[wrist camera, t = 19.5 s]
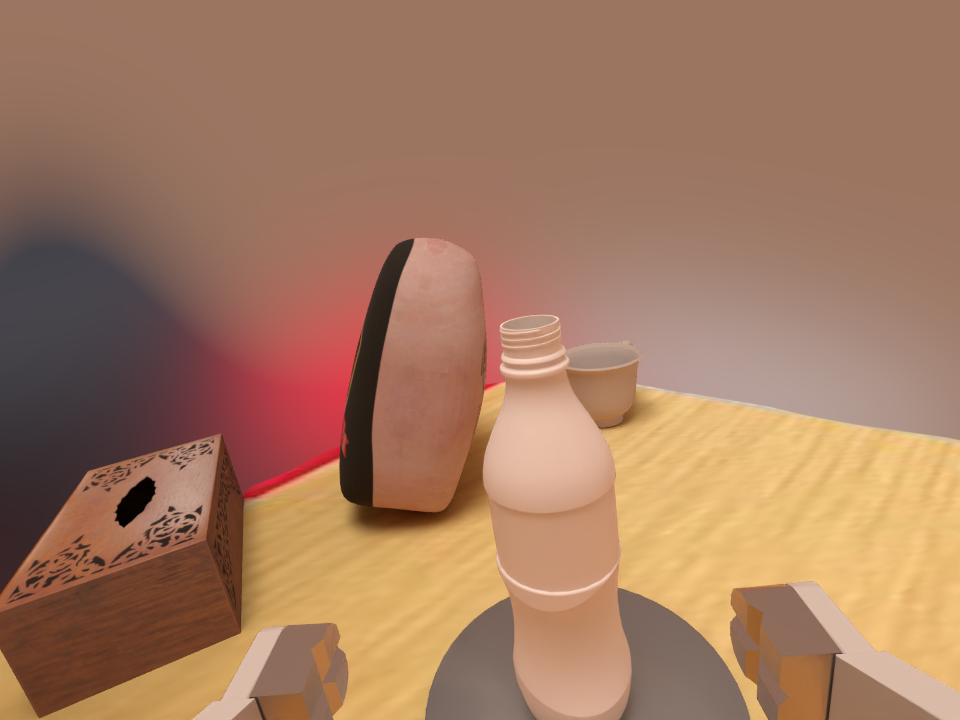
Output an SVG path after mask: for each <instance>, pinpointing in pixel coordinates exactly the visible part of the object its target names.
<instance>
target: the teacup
mask: <svg viewBox="0 0 960 720" xmlns="http://www.w3.org/2000/svg"><path fill="white" fill-rule="evenodd" d="M564 354H565V355H566V356H568V358H569V361H570V365H569V367H568V368H567V369H566V372H567V377H568V380H569V383H570V386H571V388H572V390H573V392H574V394H575V395H576V397H577V398H578V400H579V401H580V402H581V404H582V405H583V407H584V408H585V409H586V411H587V412H588V413H589V415H590V416H591V417H592V419H593V420H594V422H595V423H596V425H597V426H598V427H599V428H604V427H612V426H615V425H618V424H620V423H621V422H622V421H623V420H624V416H623V414H624V413H625V412H627V411H628V410H629V409H630V408H631V406H632V405H633V402H634V399H635V392H636V378H637V366H638V362H639V360H640V359H641V358H642V356H643V352H642V351H641V350H640V349H639V348H637V347H635V346H634V345H633V344H632V342H630V341H622V342H621V343H594V344H587V345H582V346H577V347H574V348H571V349H568V350H566V352H565V353H564Z"/></svg>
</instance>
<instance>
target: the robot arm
mask: <svg viewBox="0 0 960 720" xmlns="http://www.w3.org/2000/svg"><path fill="white" fill-rule="evenodd" d="M731 606H732V607H733V609H734V611H735V613H736V614H737V615H736V616H735V617H734V618H733V620H732V621H731V622H730V636H731V641H732V645H733V650H734V653H735V656H736V658H737V661H738V663H739V665H740V667H741V669H742V671H743V673H744V675H745V676H746V677H747V678H749V679H750V680H751V681H753V682H754V683H755V684H757V700H758V701H759V703H760V705H761V707H762V709H763V711H764V713H765V714H766V716H767V718H768V720H960V692H958V691H956V690H954V689H953V688H951V687H949V686H947V685H945V684H944V683H942V682H940V681H938V680H936V679H935V678H933V677H931V676H929V675H927V674H925V673H924V672H922V671H920V670H918V669H916V668H915V667H913V666H911V665H909V664H907V663H906V662H904V661H902V660H900V659H898V658H897V657H895V656H893V655H891V654H889V653H888V652H886V651H875V649H874V648H873V647H872V646H871V645H870V644H869V642H868V641H867V640H866V639H865V638H864V637H863V636H862V634H861V633H860V632H859V631H858V630H857V629H856V627H855V626H854V625H853V624H852V623H851V622H850V620H849V619H848V618H847V617H846V616H845V615H844V613H843V612H842V611H841V610H840V609H839V608H838V607H837V605H836V604H835V603H834V602H833V601H832V600H831V598H830V597H829V596H828V595H827V594H826V593H825V591H824V590H823V589H822V588H821V587H820V586H819V585H818V584H817V583H815V582H813V581H808V582H797V583H787V584H777V585H767V586H756V587H746V588H735V589H733V591H732V594H731ZM339 639H340V634H339V631H338V628H337V625H336V624H333V623H323V624H305V625H288V626H280V627H264V628H263V629H262V630H261V631H260V632H259V633H258V634H257V636H256V637H255V639H254V641H253V643H252V645H251V647H250V648H249V650H248V652H247V654H246V656H245V657H244V659H243V661H242V663H241V665H240V666H239V668H238V670H237V672H236V674H235V676H234V677H233V679H232V681H231V683H230V685H229V686H228V688H227V690H226V692H225V694H224V695H223V697H222V699H221V701H213V702H212V703H211V704H210V705H209V706H207V707H206V708H205V709H204V710H203V711H201V712H200V713H199V714H198V715H197V716H195V717H194V718H193V719H192V720H333V717H332V716H333V715H334V714H335V713H336V712H337V711H338V710H339V709H340V707H341V706H342V705H343V702H344V698H345V695H346V691H347V682H348V664H347V659H346V655H345V653H344V652H343V651H342V650H340V649H339V648H338V647H337V645H338V642H339Z"/></svg>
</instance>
